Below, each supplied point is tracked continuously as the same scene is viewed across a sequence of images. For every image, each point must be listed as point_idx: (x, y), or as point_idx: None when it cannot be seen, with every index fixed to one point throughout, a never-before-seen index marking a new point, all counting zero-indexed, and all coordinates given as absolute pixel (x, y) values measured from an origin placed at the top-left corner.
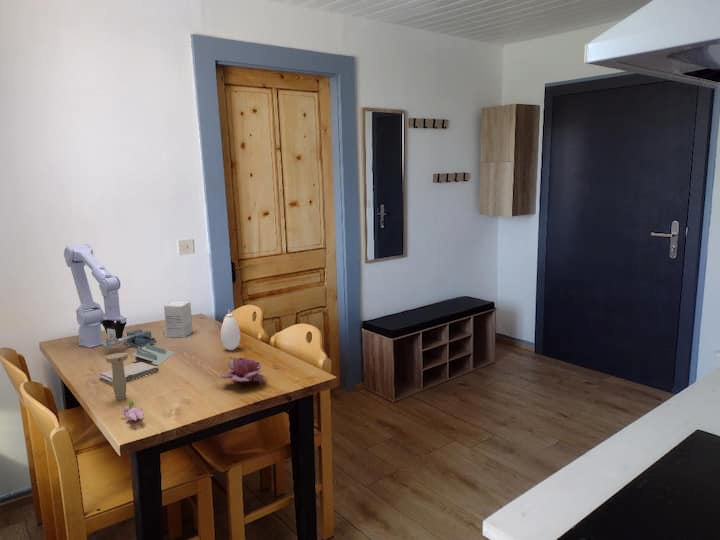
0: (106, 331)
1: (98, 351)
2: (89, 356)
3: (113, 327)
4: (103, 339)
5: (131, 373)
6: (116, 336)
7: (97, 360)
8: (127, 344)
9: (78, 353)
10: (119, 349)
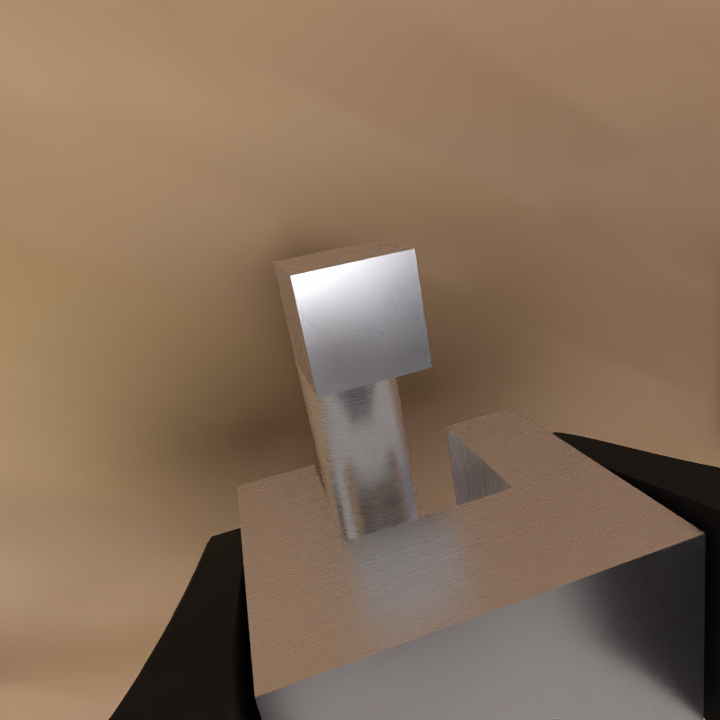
0: (645, 465)
1: (536, 241)
2: (430, 38)
3: (597, 706)
4: (410, 266)
5: None
6: (230, 554)
7: (110, 9)
8: None
9: (682, 8)
10: None
